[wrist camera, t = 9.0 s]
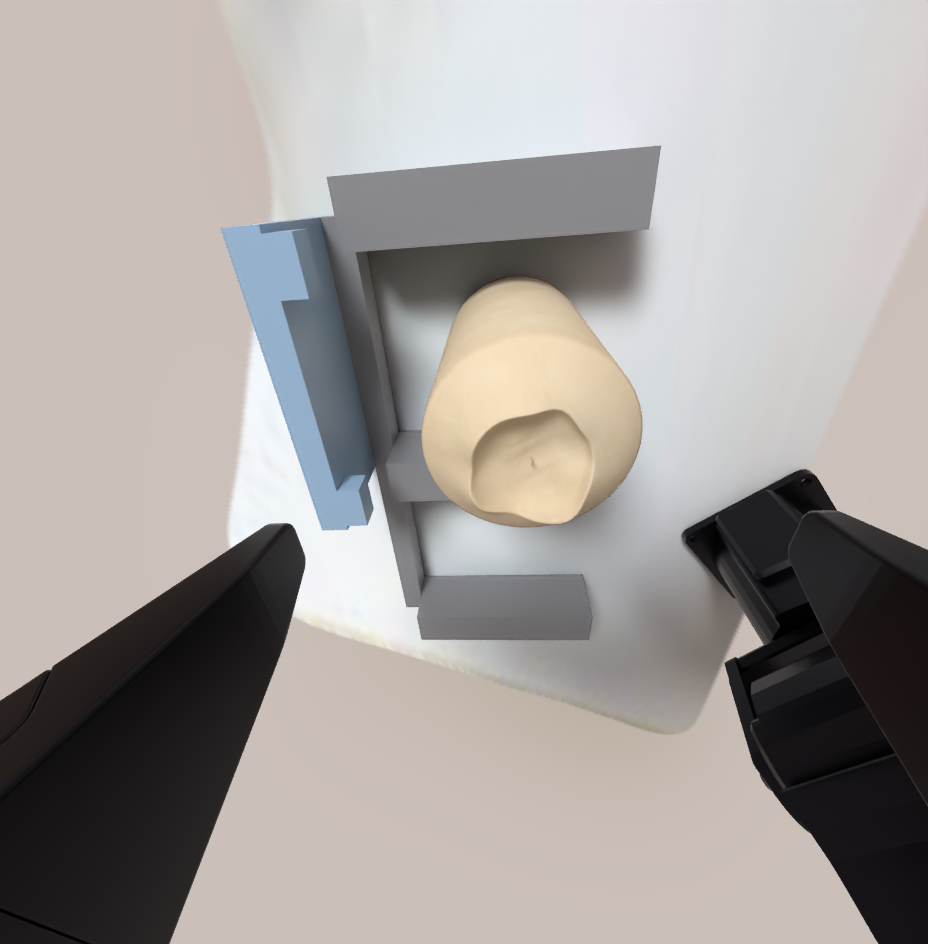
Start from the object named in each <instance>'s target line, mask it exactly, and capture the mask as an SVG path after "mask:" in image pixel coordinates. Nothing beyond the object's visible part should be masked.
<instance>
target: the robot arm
mask: <svg viewBox="0 0 928 944" xmlns="http://www.w3.org/2000/svg"><path fill="white" fill-rule="evenodd" d="M803 479H805V480H804V481H802V480H803ZM801 481H802V482H801ZM695 535H696V536H695ZM693 536H695V537H693ZM683 538H684V540H685V542H686V544H687V545H688V546H689V547H690V548H691V549H692V551H693V552H694V553H695V554H696V555H697V556H698V557H699V559H700V560H701V561H702V562H703V563H704V564H705V566H706V567H707V568H708V569H709V570H710V571H711V573H712V574H713V575H714V576H715V577H716V578H717V580H718V581H719V582H720V583H721V584H722V585H723V586H724V588H725V589H726V590H727V591H728V592H729V593H730V595H731V596H732V597H733V598H735V599H736V600H737V601H738V603H739V604H740V606H741V608H742V609H743V611H744V613H745V614H746V616H747V618H748V619H749V621H750V623H751V624H752V626H753V627H754V629H755V631H756V632H757V634H758V635H759V637H760V639H761V640H762V642H763V644H764V645H763V646H761V647H759V648H757V649H755V650H753V651H751V652H749V653H747V654H745V655H744V656H742V657H740V658H736V657H735V658H733V659H731V660H729V661H727V662H725V667H726V670H727V674H728V677H729V683H730V686H731V690H732V694H733V697H734V700H735V704H736V707H737V711H738V714H739V717H740V721H741V724H742V728H743V731H744V734H745V738H746V741H747V745H748V748H749V751H750V754H751V758H752V761H753V764H754V766H755V767H756V769H757V770H758V772H759V773H760V776H761V779H762V781H763V782H764V784H765V785H766V786H767V788H768V789H770V790H771V791H773V793H774V794H775V796H776V797H777V798H778V800H779V801H780V802H781V804H782V805H783V806H784V808H785V809H786V810H787V811H788V812H789V813H790V815H791V816H792V817H793V818H794V819H795V820H796V821H797V822H798V823H799V824H800V825H801V826H802V827H803V828H804V829H805V830H807V831H808V832H809V833H811V834H812V836H813V837H814V839H815V840H816V842H817V843H818V845H819V846H820V848H821V849H822V851H823V852H824V853H825V855H826V857H827V858H828V859H829V861H830V863H831V864H832V866H833V867H834V869H835V871H836V872H837V874H838V876H839V877H840V879H841V881H842V882H843V884H844V886H845V887H846V889H847V891H848V892H849V894H850V896H851V898H852V899H853V901H854V903H855V904H856V906H857V908H858V910H859V911H860V913H861V915H862V917H863V918H864V920H865V922H866V924H867V925H868V927H869V929H870V931H871V932H872V934H873V935H874V937H875V939H876V941H877V942H878V944H928V550H927V549H924V548H922V547H920V546H917V545H915V544H913V543H911V542H908V541H906V540H904V539H902V538H899V537H897V536H895V535H892V534H890V533H888V532H886V531H883V530H881V529H879V528H876V527H874V526H872V525H869V524H867V523H865V522H863V521H860V520H858V519H856V518H853V517H851V516H849V515H847V514H844V513H842V512H839V511H837V510H836V508H835V506H834V505H833V503H832V502H831V500H830V498H829V496H828V495H827V493H826V491H825V490H824V488H823V486H822V485H821V483H820V481H819V480H818V478H817V477H816V476H815V475H814V474H813V473H812V472H811V471H809V470H806V469H804V470H799V471H796V472H794V473H793V474H791V475H789V476H787V477H785V478H783V479H781V480H779V481H777V482H775V483H773V484H772V485H770V486H768V487H766V488H764V489H762V490H760V491H758V492H756V493H754V494H753V495H751V496H749V497H747V498H745V499H743V500H741V501H739V502H737V503H735V504H733V505H732V506H730V507H728V508H726V509H724V510H722V511H720V512H718V513H716V514H714V515H713V516H711V517H709V518H707V519H705V520H703V521H701V522H699V523H697V524H695V525H693V526H692V527H690V528H688V529H686V530H685V531H684V532H683ZM304 569H305V554H304V552H303V549H302V546H301V544H300V541H299V539H298V536H297V533H296V531H295V529H294V527H293V526H292V525H291V524H288V523H275V524H268V525H266V526H264V527H263V528H261V529H260V530H258V531H257V532H255V533H254V534H252V535H251V536H249V537H248V538H246V539H245V540H243V541H242V542H240V543H239V544H237V545H236V546H234V547H232V548H231V549H229V550H228V551H226V552H225V553H223V554H222V555H220V556H219V557H217V558H216V559H214V560H213V561H212V562H210V563H208V564H207V565H205V566H204V567H203V568H201V569H199V570H198V571H196V572H195V573H193V574H192V575H190V576H189V577H187V578H186V579H184V580H183V581H181V582H180V583H178V584H176V585H175V586H173V587H172V588H171V589H169V590H168V591H166V592H164V593H163V594H161V595H160V596H159V597H157V598H155V599H154V600H152V601H151V602H149V603H148V604H146V605H145V606H143V607H142V608H140V609H139V610H137V611H136V612H134V613H133V614H131V615H130V616H128V617H127V618H125V619H123V620H122V621H120V622H119V623H117V624H116V625H115V626H113V627H111V628H110V629H108V630H107V631H106V632H104V633H102V634H101V635H99V636H98V637H96V638H95V639H93V640H92V641H90V642H89V643H87V644H86V645H84V646H83V647H81V648H80V649H78V650H77V651H75V652H74V653H72V654H70V655H69V656H68V657H66V658H65V659H63V660H61V661H60V662H58V663H57V664H55V665H54V666H53V667H52V670H46V671H45V672H43V673H42V674H40V675H38V676H37V677H35V678H34V679H32V680H31V681H30V682H28V683H27V684H25V685H24V686H22V687H21V688H19V689H18V690H16V691H15V692H13V693H12V694H10V695H8V696H7V697H5V698H4V699H2V700H1V701H0V944H169V943H170V941H171V938H172V936H173V933H174V930H175V928H176V925H177V923H178V920H179V917H180V914H181V912H182V910H183V907H184V904H185V901H186V899H187V897H188V894H189V891H190V889H191V886H192V884H193V881H194V878H195V876H196V873H197V870H198V868H199V865H200V862H201V860H202V857H203V855H204V852H205V850H206V847H207V844H208V842H209V839H210V837H211V834H212V831H213V829H214V826H215V824H216V821H217V818H218V816H219V813H220V810H221V808H222V805H223V803H224V800H225V797H226V795H227V792H228V790H229V787H230V784H231V782H232V779H233V777H234V774H235V771H236V769H237V766H238V764H239V761H240V758H241V756H242V753H243V751H244V748H245V745H246V742H247V740H248V738H249V735H250V732H251V730H252V727H253V725H254V722H255V719H256V717H257V714H258V711H259V709H260V706H261V704H262V701H263V699H264V696H265V693H266V691H267V688H268V685H269V683H270V680H271V677H272V675H273V672H274V670H275V667H276V665H277V662H278V659H279V657H280V654H281V651H282V648H283V646H284V643H285V640H286V636H287V633H288V629H289V626H290V622H291V618H292V614H293V611H294V607H295V603H296V599H297V596H298V592H299V588H300V584H301V581H302V577H303V573H304Z"/></svg>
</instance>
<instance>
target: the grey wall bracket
mask: <svg viewBox="0 0 928 944" xmlns="http://www.w3.org/2000/svg"><path fill="white" fill-rule="evenodd" d="M660 149H661V146H652V147H641V148H630V149H620V150H609V151H598V152H588V153H577V154H567V155H556V156H545V157H535V158H524V159H513V160H503V161H492V162H481V163H471V164H460V165H449V166H439V167H428V168H417V169H407V170H396V171H385V172H375V173H364V174H353V175H343V176H332V177H327V181H328V186H329V191H330V196H331V201H332V206H333V210H334V215H335V216H325V217H314V218H303V219H295V220H286V221H277V222H268V223H260V224H250V225H241V226H233V227H224V228H221V231H222V234H223V237H224V240H225V243H226V245H227V248H228V252H229V255H230V258H231V261H232V263H233V266H234V269H235V272H236V275H237V278H238V281H239V284H240V287H241V290H242V293H243V296H244V299H245V302H246V305H247V308H248V311H249V314H250V317H251V320H252V323H253V326H254V329H255V332H256V335H257V338H258V341H259V344H260V347H261V350H262V353H263V356H264V358H265V361H266V364H267V367H268V370H269V373H270V376H271V379H272V382H273V385H274V388H275V391H276V394H277V397H278V400H279V403H280V406H281V409H282V412H283V415H284V418H285V421H286V424H287V427H288V430H289V433H290V436H291V439H292V442H293V445H294V448H295V451H296V453H297V456H298V459H299V462H300V465H301V468H302V471H303V474H304V477H305V480H306V483H307V486H308V489H309V492H310V495H311V498H312V501H313V504H314V507H315V510H316V513H317V516H318V519H319V522H320V525H321V528H322V530H348V528H349V526H357V525H368V522H369V520H370V517H371V514H372V512H373V509H374V508H373V504H372V500H371V496H370V491H369V487H368V482H369V480H370V477H371V475H372V473H373V470H374V468H375V467H376V472H377V476H378V481H379V485H380V490H381V494H382V499H383V503H384V508H385V512H386V517H387V521H388V526H389V530H390V535H391V539H392V544H393V548H394V553H395V557H396V562H397V566H398V571H399V575H400V580H401V584H402V589H403V593H404V598H405V602H406V607H419V610H418V615H417V619H418V624H419V629H420V633H421V638H422V640H589V637H590V630H591V623H592V613H591V609H590V605H589V601H588V596H587V592H586V588H585V584H584V580H583V576H582V575H503V576H424V571H423V566H422V560H421V554H420V549H419V543H418V537H417V532H416V526H415V520H414V515H413V509H412V503H411V502H416V501H451V500H450V499H449V498H448V497H447V496H446V495H445V494H444V493H443V492H442V490H441V489H440V488H439V487H438V485H437V484H436V482H435V481H434V479H433V477H432V476H431V474H430V472H429V470H428V467H427V464H426V461H425V458H424V454H423V448H422V431H399V430H398V424H397V419H396V413H395V407H394V402H393V396H392V390H391V385H390V379H389V373H388V368H387V362H386V356H385V351H384V345H383V339H382V334H381V328H380V322H379V317H378V311H377V305H376V300H375V294H374V288H373V283H372V277H371V271H370V266H369V260H368V254H367V251H376V250H389V249H402V248H415V247H428V246H441V245H454V244H466V243H479V242H492V241H505V240H518V239H531V238H544V237H557V236H570V235H582V234H595V233H608V232H621V231H634V230H647V229H649V225H650V218H651V211H652V204H653V198H654V191H655V184H656V177H657V170H658V163H659V156H660ZM609 497H610V496H609Z"/></svg>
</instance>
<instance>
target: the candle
mask: <svg viewBox="0 0 928 944" xmlns="http://www.w3.org/2000/svg"><path fill="white" fill-rule="evenodd" d="M641 437H642V414H641V408H640V403H639V401H638V398H637V395H636V392H635V390H634V388H633V386H632V385H631V383H630V381H629V379H628V378H627V376H626V375H625V374H624V372H623V371H622V370H621V368H620V367H619V366H618V364H617V363H616V362H615V360H614V359H613V358H612V356H611V355H610V354H609V352H608V351H607V350H606V348H605V347H604V346H603V345H602V343H601V342H600V341H599V339H598V338H597V337H596V335H595V334H594V333H593V331H592V330H591V329H590V327H589V326H588V325H587V323H586V322H585V321H584V319H583V318H582V317H581V315H580V314H579V313H578V311H577V310H576V309H575V307H574V306H573V305H572V304H571V302H570V301H569V300H568V299H567V298H566V297H565V296H564V295H563V294H562V293H561V292H560V291H559V290H558V289H556V288H555V287H553V286H552V285H550V284H548V283H546V282H544V281H541V280H538V279H535V278H530V277H518V276H516V277H507V278H503V279H499V280H496V281H493V282H491V283H488V284H487V285H485V286H483V287H482V288H480V289H479V290H477V291H476V292H475V293H473V294H472V295H471V296H470V297H469V298H468V299H467V300H466V302H465V303H464V304H463V305H462V307H461V308H460V310H459V312H458V313H457V315H456V317H455V320H454V322H453V324H452V327H451V329H450V333H449V336H448V339H447V342H446V346H445V349H444V352H443V355H442V358H441V362H440V365H439V368H438V371H437V375H436V378H435V381H434V384H433V388H432V391H431V394H430V397H429V401H428V404H427V407H426V411H425V415H424V419H423V425H422V448H423V454H424V458H425V461H426V464H427V467H428V470H429V472H430V474H431V476H432V477H433V479H434V481H435V482H436V484H437V485H438V487H439V488H440V489H441V490H442V492H443V493H444V494H445V495H446V496H447V497H448V498H449V499H450V500H451V501H453V502H454V503H455V504H456V505H457V506H459V507H460V508H462V509H463V510H465V511H466V512H468V513H470V514H472V515H474V516H476V517H478V518H480V519H483V520H486V521H488V522H492V523H496V524H500V525H505V526H512V527H540V526H547V525H552V524H562V523H566V522H568V521H570V520H572V519H573V518H575V517H577V516H579V515H581V514H583V513H585V512H587V511H589V510H591V509H592V508H594V507H595V506H597V505H598V504H600V503H601V502H602V501H604V500H605V499H606V498H607V497H609V496H610V495H611V494H612V493H613V492H614V491H615V490H616V489H617V488H618V486H619V485H620V484H621V483H622V481H623V480H624V479H625V478H626V476H627V474H628V473H629V471H630V469H631V468H632V466H633V464H634V461H635V459H636V457H637V454H638V451H639V447H640V444H641Z"/></svg>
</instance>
